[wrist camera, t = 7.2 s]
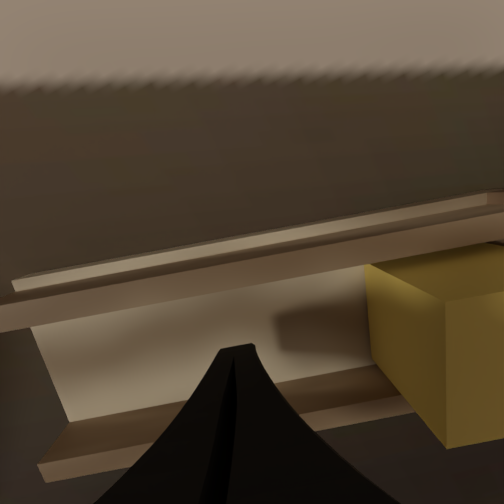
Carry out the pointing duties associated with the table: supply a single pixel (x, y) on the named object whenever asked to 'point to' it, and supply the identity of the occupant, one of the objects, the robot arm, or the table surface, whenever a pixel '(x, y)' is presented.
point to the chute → (227, 323)
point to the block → (443, 337)
